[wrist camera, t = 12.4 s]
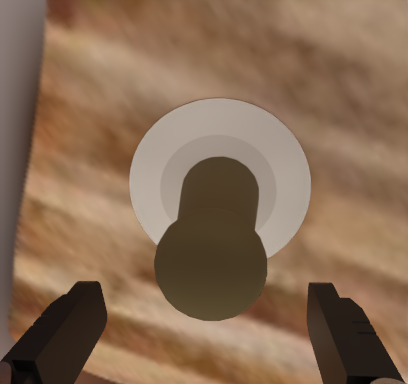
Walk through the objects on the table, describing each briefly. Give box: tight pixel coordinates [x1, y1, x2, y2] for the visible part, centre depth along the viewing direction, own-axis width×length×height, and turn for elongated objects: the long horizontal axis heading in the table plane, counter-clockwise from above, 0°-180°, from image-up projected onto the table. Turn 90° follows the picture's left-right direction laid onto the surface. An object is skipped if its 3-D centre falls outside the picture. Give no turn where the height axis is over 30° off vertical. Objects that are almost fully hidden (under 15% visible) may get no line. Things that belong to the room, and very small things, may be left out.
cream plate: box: [129, 98, 311, 258], centre depth 22 cm, size 14×14×1 cm
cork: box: [154, 156, 267, 321], centre depth 17 cm, size 6×6×11 cm
